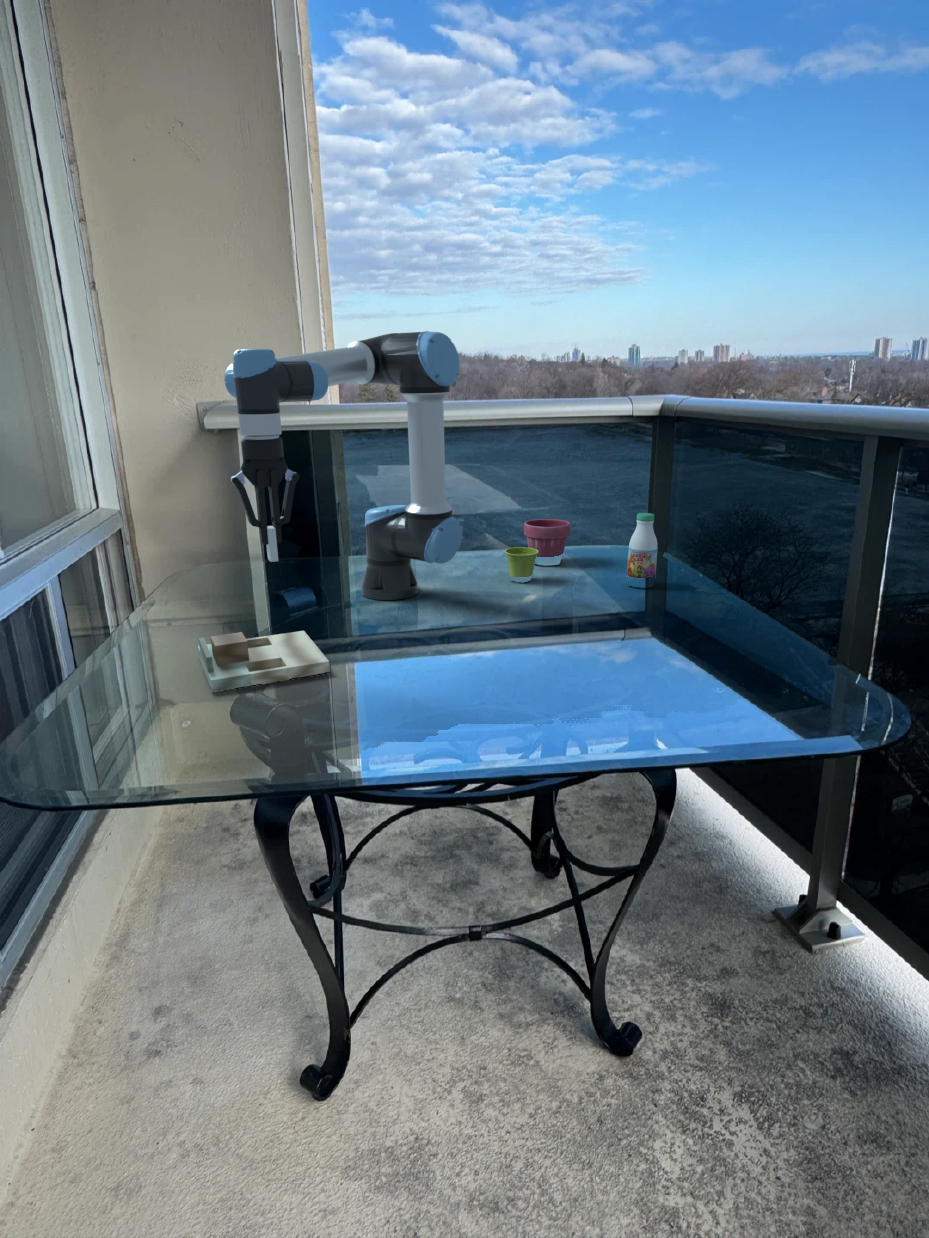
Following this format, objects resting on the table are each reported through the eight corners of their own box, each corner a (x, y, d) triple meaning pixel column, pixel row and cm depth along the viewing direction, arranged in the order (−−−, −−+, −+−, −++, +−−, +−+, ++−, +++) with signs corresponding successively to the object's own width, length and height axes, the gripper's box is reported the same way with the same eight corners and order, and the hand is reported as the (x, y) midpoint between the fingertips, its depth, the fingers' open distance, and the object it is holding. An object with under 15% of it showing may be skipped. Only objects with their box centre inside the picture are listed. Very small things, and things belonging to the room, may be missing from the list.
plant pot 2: (522, 557, 235) (523, 518, 231) (566, 558, 235) (568, 518, 231) (524, 568, 222) (525, 526, 218) (571, 569, 221) (572, 527, 217)
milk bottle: (625, 581, 208) (630, 511, 202) (652, 582, 207) (658, 511, 201) (626, 588, 201) (632, 516, 195) (655, 589, 200) (662, 516, 194)
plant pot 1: (538, 585, 204) (539, 554, 202) (504, 585, 204) (505, 554, 202) (536, 576, 213) (537, 547, 210) (503, 576, 213) (504, 547, 211)
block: (243, 650, 148) (241, 632, 147) (249, 660, 143) (247, 641, 142) (212, 655, 146) (210, 636, 145) (217, 665, 141) (214, 645, 140)
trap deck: (304, 641, 161) (302, 617, 159) (329, 673, 144) (328, 646, 142) (199, 657, 152) (196, 631, 150) (212, 692, 135) (209, 664, 133)
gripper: (291, 434, 143) (300, 552, 151) (221, 437, 138) (235, 559, 145) (301, 437, 137) (310, 560, 144) (228, 440, 131) (242, 568, 139)
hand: (273, 559), depth 145 cm, fingers closed
